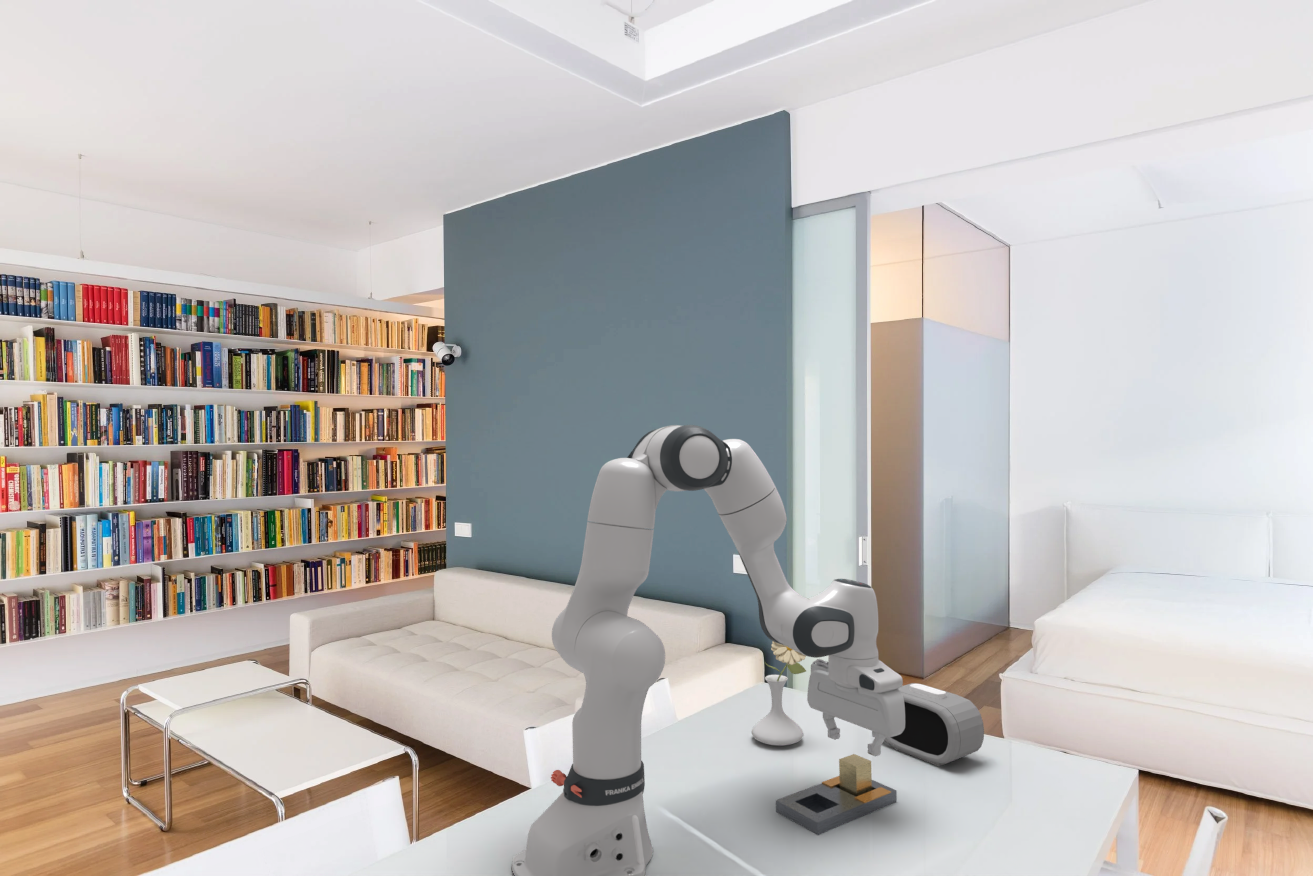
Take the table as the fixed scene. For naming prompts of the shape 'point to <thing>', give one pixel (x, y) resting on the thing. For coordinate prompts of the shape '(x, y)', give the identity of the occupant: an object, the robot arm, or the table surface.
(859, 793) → the brass block
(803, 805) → the rail
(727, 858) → the table surface
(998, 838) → the table surface
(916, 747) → the alarm clock
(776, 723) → the flower in vase
